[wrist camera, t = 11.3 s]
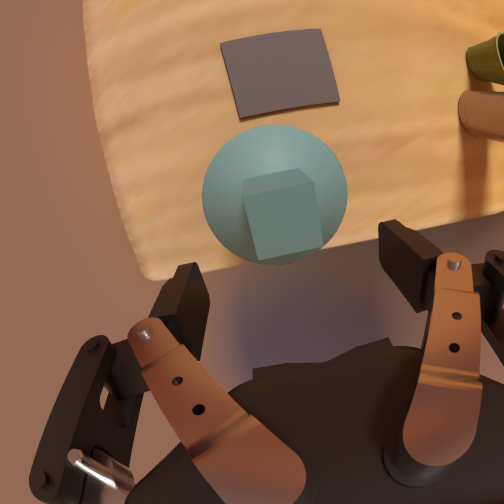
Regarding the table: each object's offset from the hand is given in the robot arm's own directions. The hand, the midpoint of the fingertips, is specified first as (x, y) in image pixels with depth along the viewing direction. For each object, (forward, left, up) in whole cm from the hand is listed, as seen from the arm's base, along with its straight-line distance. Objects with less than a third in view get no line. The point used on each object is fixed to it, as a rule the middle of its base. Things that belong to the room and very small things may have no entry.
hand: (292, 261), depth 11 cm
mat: (-6, -13, -30) cm, 34 cm away
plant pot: (-48, -16, -31) cm, 59 cm away
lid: (0, 0, -10) cm, 10 cm away
